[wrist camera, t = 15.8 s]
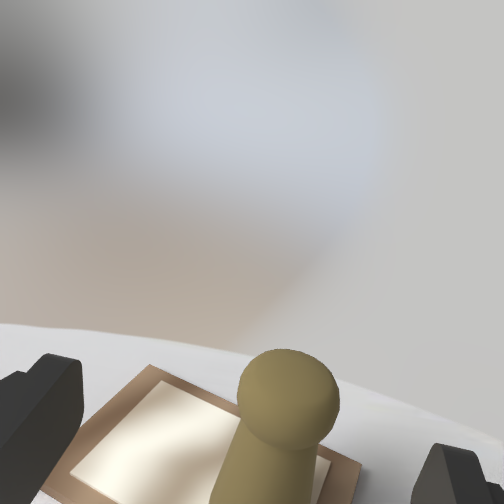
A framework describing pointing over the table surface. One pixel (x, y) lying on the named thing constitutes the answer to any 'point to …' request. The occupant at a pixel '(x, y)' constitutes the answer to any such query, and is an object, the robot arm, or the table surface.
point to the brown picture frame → (167, 449)
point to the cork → (278, 430)
